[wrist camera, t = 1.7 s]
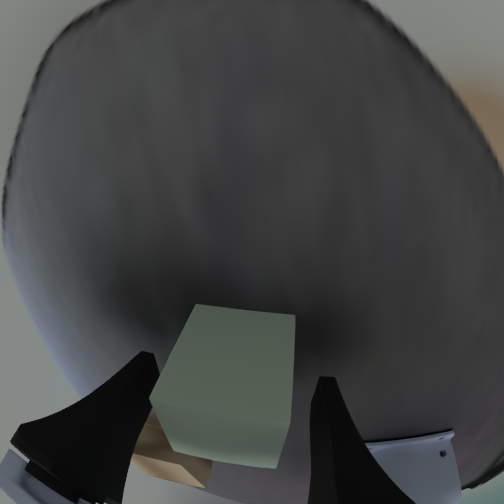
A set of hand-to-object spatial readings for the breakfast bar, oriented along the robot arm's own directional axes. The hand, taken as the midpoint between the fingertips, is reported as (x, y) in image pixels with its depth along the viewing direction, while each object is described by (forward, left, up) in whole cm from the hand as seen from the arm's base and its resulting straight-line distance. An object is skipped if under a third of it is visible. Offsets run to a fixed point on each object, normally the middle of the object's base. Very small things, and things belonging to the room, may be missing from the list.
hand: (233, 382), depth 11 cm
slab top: (+5, +10, 0) cm, 11 cm away
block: (0, 0, -3) cm, 3 cm away
